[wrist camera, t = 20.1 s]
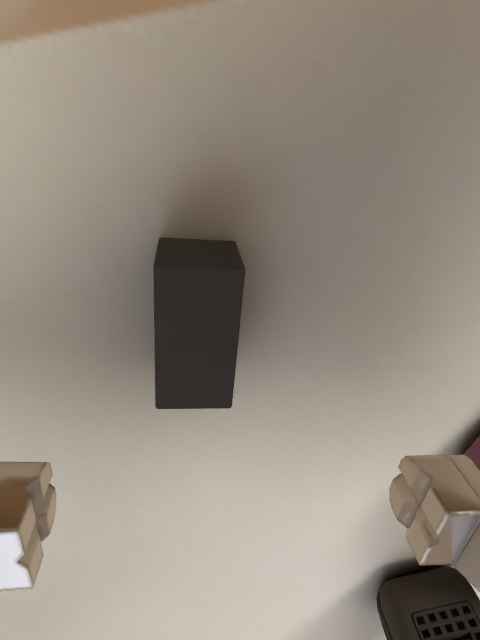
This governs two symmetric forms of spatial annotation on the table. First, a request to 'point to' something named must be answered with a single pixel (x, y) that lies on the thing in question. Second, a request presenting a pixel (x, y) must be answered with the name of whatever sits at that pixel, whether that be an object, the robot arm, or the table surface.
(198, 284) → the eraser
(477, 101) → the table surface
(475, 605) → the headphones
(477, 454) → the bowl
